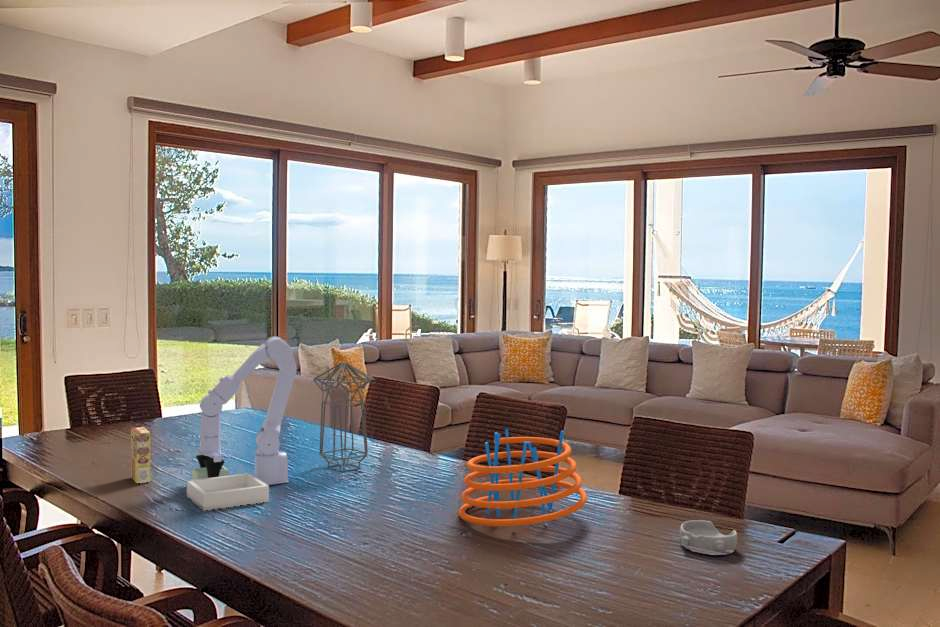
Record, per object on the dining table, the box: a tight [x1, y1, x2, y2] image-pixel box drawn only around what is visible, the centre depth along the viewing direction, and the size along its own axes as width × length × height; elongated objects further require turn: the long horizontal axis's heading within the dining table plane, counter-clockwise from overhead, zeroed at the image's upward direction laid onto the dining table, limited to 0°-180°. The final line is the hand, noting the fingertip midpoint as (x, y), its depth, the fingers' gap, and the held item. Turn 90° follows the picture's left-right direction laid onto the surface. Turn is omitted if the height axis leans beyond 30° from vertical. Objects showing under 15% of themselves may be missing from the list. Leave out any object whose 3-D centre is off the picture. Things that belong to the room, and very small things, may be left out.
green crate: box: [191, 466, 229, 480], centre depth 242 cm, size 9×6×5 cm, turn 125°
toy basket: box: [458, 428, 588, 527], centre depth 219 cm, size 34×35×24 cm
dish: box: [679, 519, 738, 551], centre depth 200 cm, size 14×14×5 cm
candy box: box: [130, 426, 151, 485], centre depth 245 cm, size 9×4×15 cm, turn 33°
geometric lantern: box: [312, 361, 375, 472], centre depth 268 cm, size 16×16×35 cm
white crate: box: [186, 472, 270, 512], centre depth 229 cm, size 18×16×4 cm
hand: (209, 481), depth 242 cm, fingers closed on green crate, 6 cm apart
